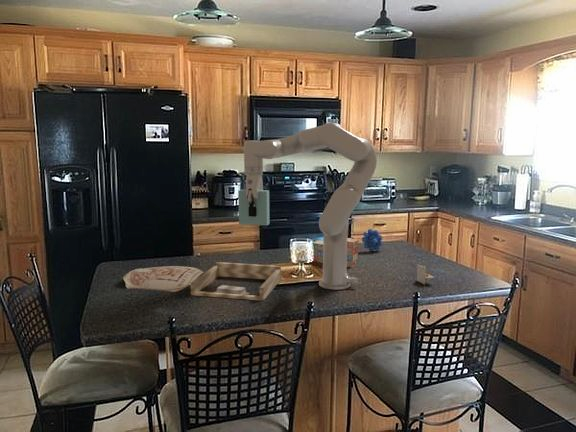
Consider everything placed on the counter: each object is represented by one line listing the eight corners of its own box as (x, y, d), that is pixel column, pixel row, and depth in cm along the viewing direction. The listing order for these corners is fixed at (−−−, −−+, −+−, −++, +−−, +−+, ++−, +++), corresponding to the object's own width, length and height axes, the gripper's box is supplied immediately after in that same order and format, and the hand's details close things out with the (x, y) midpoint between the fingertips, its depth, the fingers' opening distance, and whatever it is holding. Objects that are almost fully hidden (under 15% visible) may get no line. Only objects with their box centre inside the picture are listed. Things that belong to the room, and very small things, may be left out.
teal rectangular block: (269, 223, 202) (269, 190, 200) (266, 225, 199) (266, 191, 196) (241, 222, 205) (241, 189, 203) (238, 224, 201) (238, 190, 199)
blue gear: (364, 254, 247) (365, 230, 245) (359, 251, 253) (360, 228, 251) (385, 252, 250) (386, 229, 248) (380, 249, 256) (381, 227, 254)
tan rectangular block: (311, 261, 233) (311, 236, 231) (317, 258, 238) (317, 234, 236) (352, 268, 222) (353, 241, 220) (358, 264, 227) (358, 239, 225)
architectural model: (423, 280, 204) (424, 263, 203) (433, 285, 197) (434, 267, 196) (416, 281, 203) (417, 264, 202) (426, 286, 196) (427, 268, 195)
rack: (281, 282, 200) (281, 265, 199) (263, 304, 175) (263, 285, 174) (216, 277, 207) (216, 261, 205) (190, 298, 181) (190, 280, 180)
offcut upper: (245, 292, 183) (245, 287, 183) (241, 296, 179) (241, 290, 179) (222, 289, 186) (221, 284, 186) (217, 293, 183) (216, 288, 182)
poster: (115, 296, 194) (186, 298, 188) (113, 281, 193) (184, 283, 187) (149, 271, 221) (211, 273, 215) (147, 258, 219) (210, 259, 213)
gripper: (256, 172, 189) (257, 219, 192) (267, 169, 205) (268, 212, 208) (238, 172, 191) (239, 218, 194) (250, 169, 207) (251, 211, 210)
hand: (254, 214), depth 201 cm, fingers closed on teal rectangular block, 4 cm apart
